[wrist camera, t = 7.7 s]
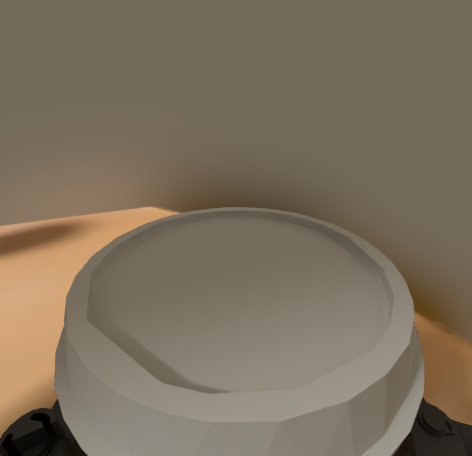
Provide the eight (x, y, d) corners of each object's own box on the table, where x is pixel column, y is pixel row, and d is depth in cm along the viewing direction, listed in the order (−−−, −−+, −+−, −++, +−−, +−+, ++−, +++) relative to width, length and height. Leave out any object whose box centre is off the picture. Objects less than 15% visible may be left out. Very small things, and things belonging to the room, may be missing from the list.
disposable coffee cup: (127, 417, 14) (67, 226, 9) (268, 354, 18) (280, 193, 13) (152, 789, 6) (-157, 851, 1) (395, 539, 10) (546, 311, 5)
